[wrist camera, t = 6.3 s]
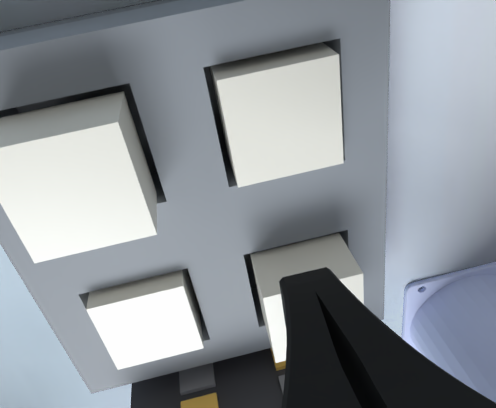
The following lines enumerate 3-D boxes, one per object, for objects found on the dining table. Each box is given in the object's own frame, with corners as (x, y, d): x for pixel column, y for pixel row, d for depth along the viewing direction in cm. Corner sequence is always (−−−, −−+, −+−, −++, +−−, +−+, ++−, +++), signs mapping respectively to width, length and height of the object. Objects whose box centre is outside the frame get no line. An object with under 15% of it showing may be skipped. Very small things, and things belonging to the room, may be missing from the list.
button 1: (123, 91, 14) (117, 122, 12) (156, 192, 17) (157, 234, 14) (0, 117, 14) (-29, 153, 12) (50, 216, 16) (34, 263, 14)
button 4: (339, 232, 19) (363, 273, 17) (342, 296, 22) (364, 340, 19) (250, 254, 19) (262, 298, 17) (262, 316, 21) (275, 363, 19)
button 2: (180, 245, 20) (183, 286, 18) (199, 305, 23) (203, 348, 20) (93, 266, 20) (86, 309, 18) (121, 325, 22) (117, 370, 20)
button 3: (313, 36, 16) (339, 54, 14) (320, 134, 19) (343, 163, 16) (207, 58, 16) (216, 80, 14) (227, 154, 18) (238, 187, 16)
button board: (361, -41, 17) (459, -24, 11) (365, 300, 27) (418, 395, 22) (-70, 46, 16) (-187, 111, 10) (105, 366, 26) (92, 482, 21)
